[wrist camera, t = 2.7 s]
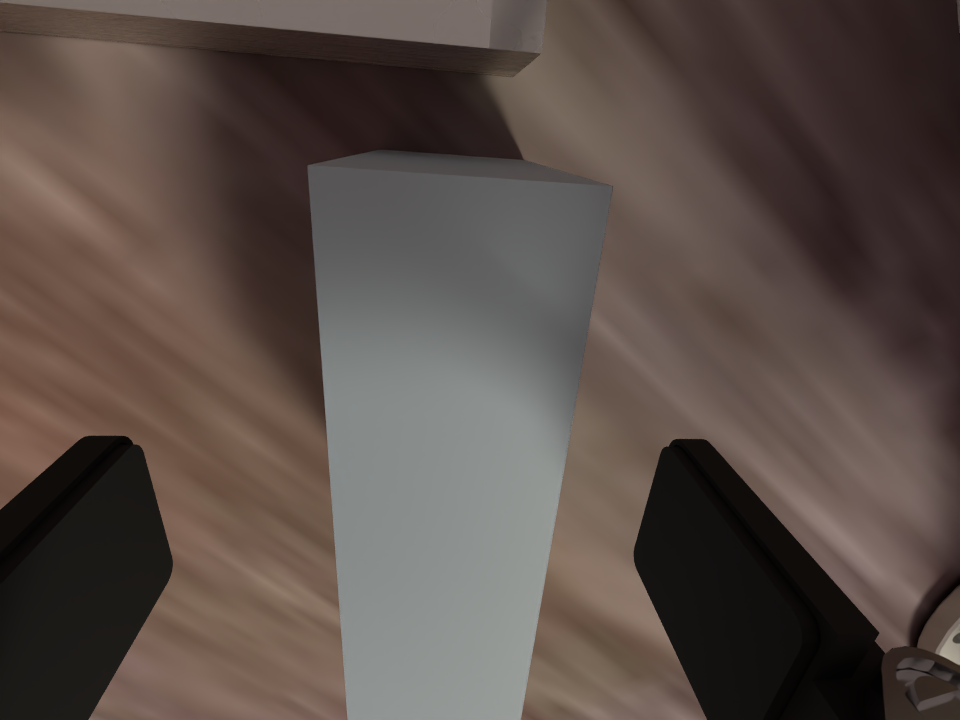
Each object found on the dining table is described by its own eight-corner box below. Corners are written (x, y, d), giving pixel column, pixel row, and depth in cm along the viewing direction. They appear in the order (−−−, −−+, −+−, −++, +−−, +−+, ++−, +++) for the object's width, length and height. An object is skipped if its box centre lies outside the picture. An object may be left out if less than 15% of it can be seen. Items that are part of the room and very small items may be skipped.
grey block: (523, 159, 14) (613, 185, 7) (490, 494, 19) (520, 721, 11) (380, 149, 13) (308, 165, 6) (385, 493, 18) (348, 727, 11)
